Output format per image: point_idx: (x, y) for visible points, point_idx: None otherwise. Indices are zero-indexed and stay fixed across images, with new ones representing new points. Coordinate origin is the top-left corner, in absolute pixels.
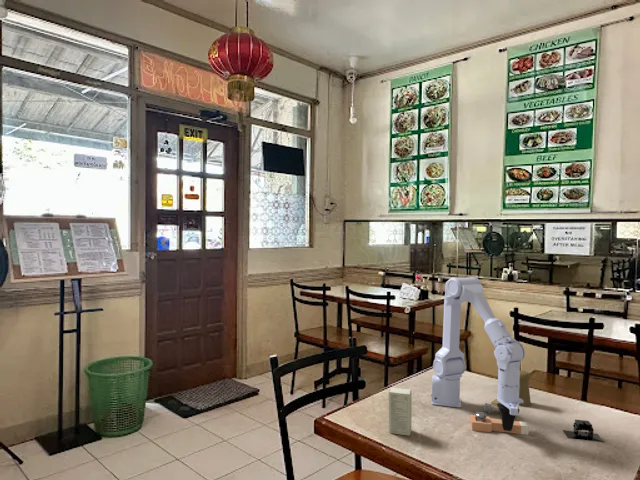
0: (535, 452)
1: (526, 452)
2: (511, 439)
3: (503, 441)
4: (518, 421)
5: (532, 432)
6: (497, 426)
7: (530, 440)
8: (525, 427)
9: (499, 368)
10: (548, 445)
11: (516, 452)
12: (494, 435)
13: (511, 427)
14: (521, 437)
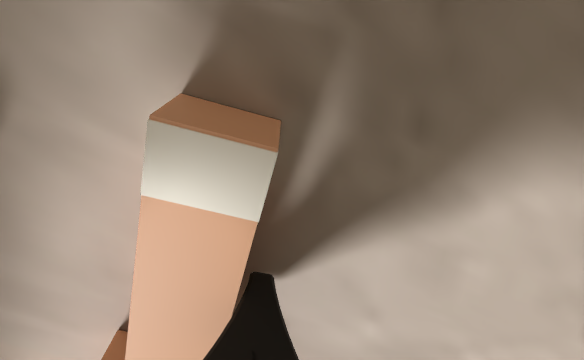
0: (571, 214)
1: (547, 269)
2: (353, 282)
3: (375, 334)
4: (142, 198)
5: (222, 51)
6: None
7: (385, 156)
8: (270, 176)
9: None
10: (507, 35)
11: (525, 321)
12: None
13: (275, 298)
14: (326, 203)
